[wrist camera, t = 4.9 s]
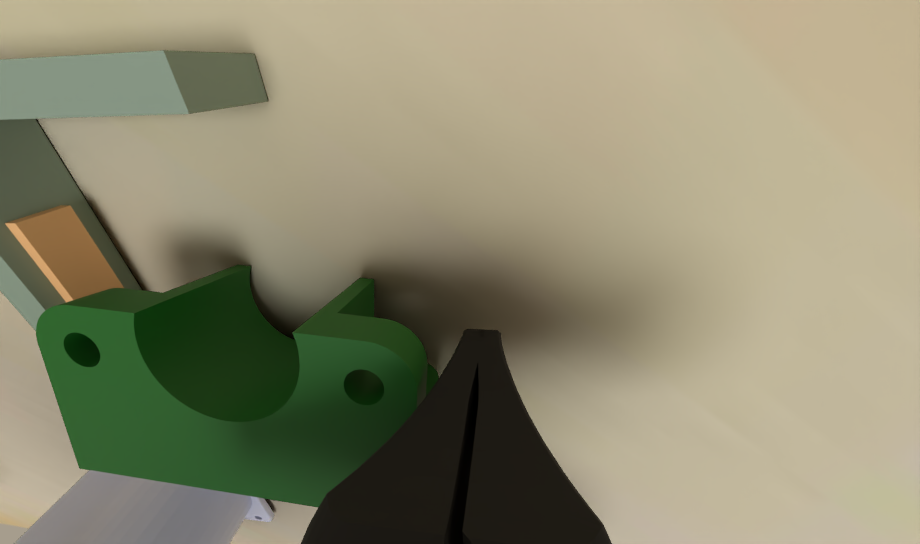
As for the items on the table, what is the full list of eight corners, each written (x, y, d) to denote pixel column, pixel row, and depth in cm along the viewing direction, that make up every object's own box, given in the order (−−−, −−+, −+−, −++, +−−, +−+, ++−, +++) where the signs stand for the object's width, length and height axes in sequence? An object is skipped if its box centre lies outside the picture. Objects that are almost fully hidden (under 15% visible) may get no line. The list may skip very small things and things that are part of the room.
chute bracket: (211, 429, 20) (169, 482, 18) (-29, 69, 11) (-195, 70, 8) (369, 444, 19) (347, 502, 17) (254, 53, 10) (163, 50, 7)
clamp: (419, 253, 17) (484, 342, 9) (415, 357, 19) (466, 508, 11) (123, 254, 14) (-211, 404, 6) (152, 382, 16) (-67, 638, 7)
